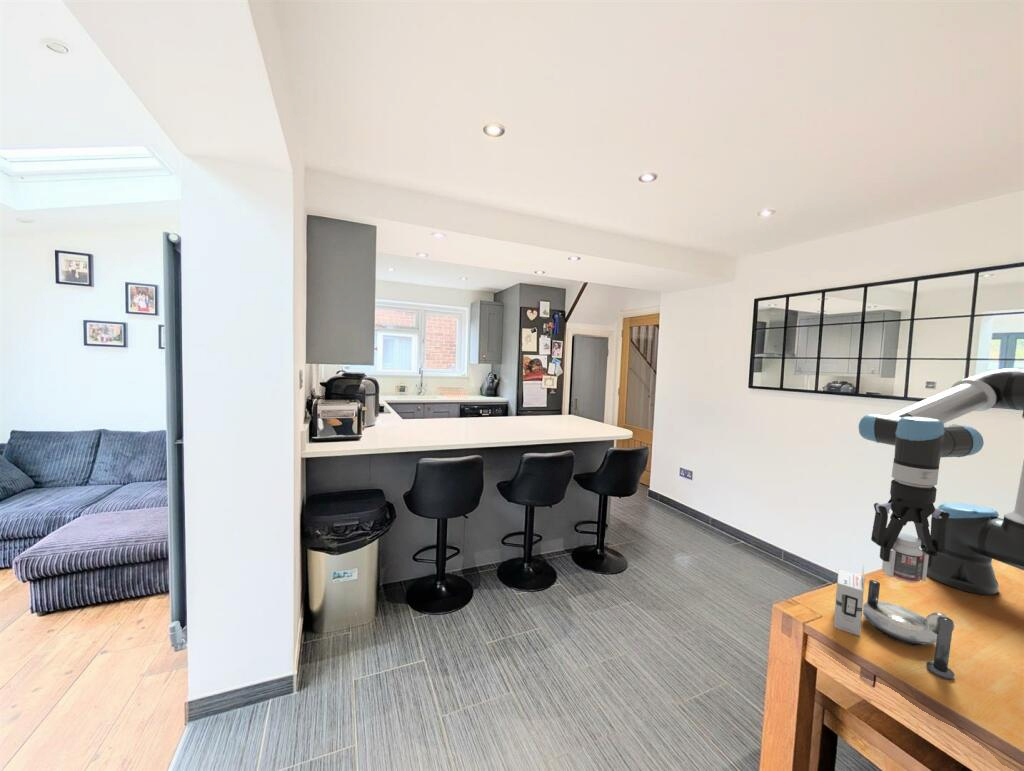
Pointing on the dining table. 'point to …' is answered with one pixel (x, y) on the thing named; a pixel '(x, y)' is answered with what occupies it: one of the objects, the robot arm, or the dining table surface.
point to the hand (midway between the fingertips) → (903, 575)
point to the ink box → (849, 601)
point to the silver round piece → (896, 619)
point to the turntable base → (897, 638)
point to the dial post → (941, 644)
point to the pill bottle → (908, 558)
